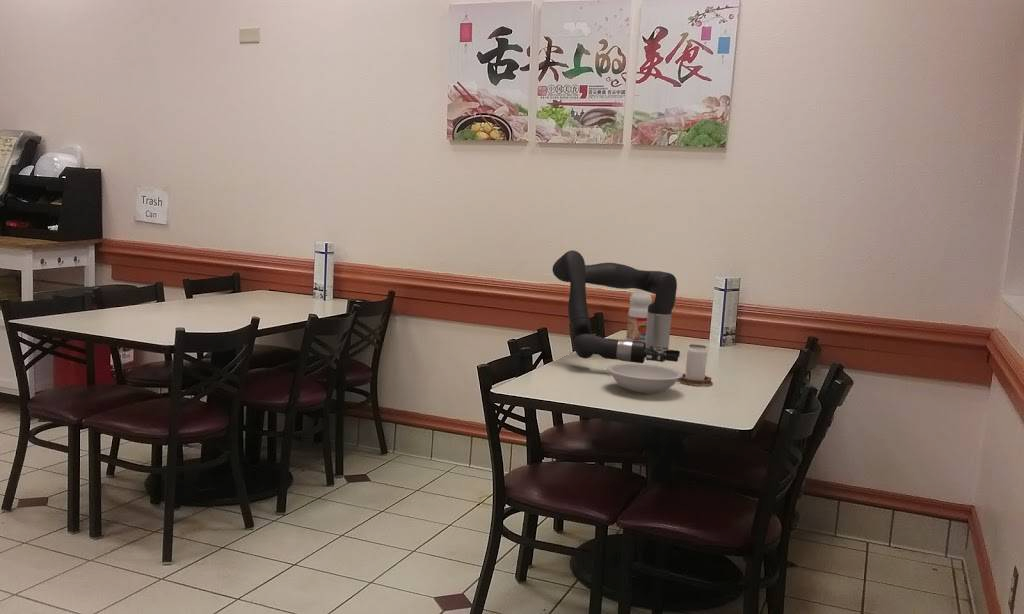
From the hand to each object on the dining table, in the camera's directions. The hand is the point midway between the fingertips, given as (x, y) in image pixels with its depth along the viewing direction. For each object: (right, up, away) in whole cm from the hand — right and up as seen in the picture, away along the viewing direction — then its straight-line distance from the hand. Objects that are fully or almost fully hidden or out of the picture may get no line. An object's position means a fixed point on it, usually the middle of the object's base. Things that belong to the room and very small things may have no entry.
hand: (678, 356), depth 285 cm
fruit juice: (-4, +1, +68) cm, 68 cm away
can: (+5, -9, -1) cm, 10 cm away
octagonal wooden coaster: (+5, -9, 0) cm, 10 cm away
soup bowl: (-15, -10, -18) cm, 25 cm away
